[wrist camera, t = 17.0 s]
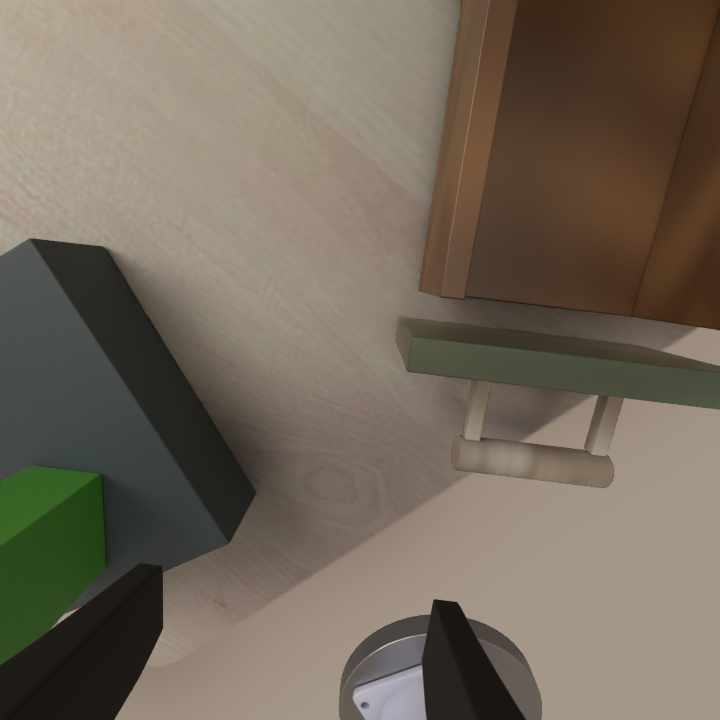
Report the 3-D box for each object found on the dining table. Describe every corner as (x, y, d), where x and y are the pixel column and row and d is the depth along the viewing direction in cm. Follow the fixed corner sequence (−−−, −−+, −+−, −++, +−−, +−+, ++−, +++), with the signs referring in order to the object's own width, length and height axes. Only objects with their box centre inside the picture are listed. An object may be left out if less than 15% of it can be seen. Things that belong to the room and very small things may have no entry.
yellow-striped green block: (107, 567, 17) (-14, 700, 12) (40, 559, 17) (-110, 687, 12) (102, 473, 16) (-33, 571, 11) (31, 464, 16) (-140, 558, 11)
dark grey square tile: (256, 493, 21) (229, 544, 17) (74, 574, 22) (11, 637, 18) (104, 246, 18) (29, 237, 14) (-91, 359, 19) (-208, 379, 15)
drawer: (607, 451, 18) (712, 528, 13) (383, 424, 18) (389, 489, 13) (775, -118, 13) (1076, -413, 8) (464, -153, 13) (533, -473, 8)
